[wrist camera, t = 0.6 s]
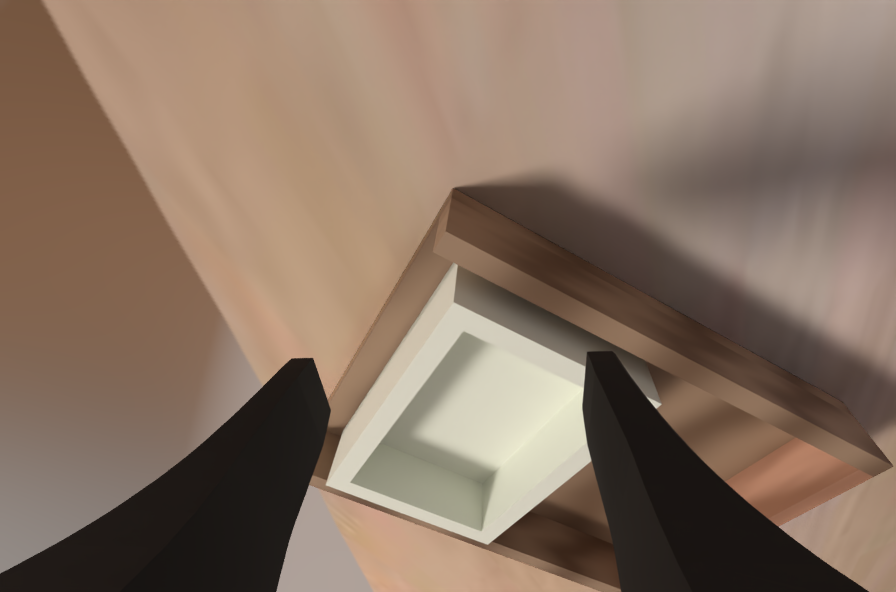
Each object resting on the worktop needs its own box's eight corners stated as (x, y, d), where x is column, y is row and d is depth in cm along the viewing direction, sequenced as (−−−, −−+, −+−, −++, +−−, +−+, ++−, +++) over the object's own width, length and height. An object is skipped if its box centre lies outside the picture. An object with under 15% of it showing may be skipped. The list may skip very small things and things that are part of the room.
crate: (640, 347, 23) (661, 404, 20) (488, 488, 30) (487, 544, 27) (458, 253, 21) (453, 302, 18) (343, 430, 28) (325, 485, 25)
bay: (842, 402, 26) (893, 466, 22) (619, 543, 35) (631, 602, 32) (453, 188, 20) (445, 231, 17) (314, 422, 30) (293, 479, 27)
